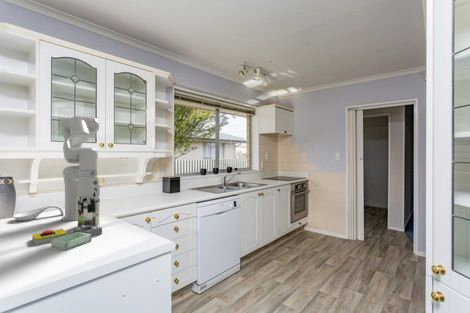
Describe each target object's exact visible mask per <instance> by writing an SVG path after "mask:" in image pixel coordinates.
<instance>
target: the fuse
mask: <svg viewBox="0 0 470 313" xmlns="http://www.w3.org/2000/svg"><path fill="white" fill-rule="evenodd" d="M83 204H84V218H83V220H84V221H89V220H92V212H90V213H88V204H89V202H88V200H87V201H83Z"/></svg>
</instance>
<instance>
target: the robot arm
mask: <svg viewBox="0 0 470 313" xmlns="http://www.w3.org/2000/svg"><path fill="white" fill-rule="evenodd" d="M59 123H60V124H59V127H60V128H59V129H60V131H61V134H62V137H63V139H64V142H63V145H62V150H63V157H64V160H65V161H66V162H67V163H68V164H73V165H68V166H66V167H64V168H63V170H62V176H63V183H64V215H63V216H62V217H61V220H62V221H64V222H65V221H67V222H69V221H78V200H80V203H81V211H82V212H84V204H83V201H87V200H88V202H89V204H88V213H90V212H94V211H95V203H96V201H97V200H98V199H100V196H101V190H100V189H101V188H100V180H99V177H98V157H99V153H98V150H97V149H96V148H94V147H83V144H85V143H87V142H88V141H89V140H90V139H91V134H96V133H97V132H99V128H100V122H99V120H98V119H97V118H96V117H92V116H81V115H75V116H72V117H64V118H62V119H61V120H60V122H59ZM75 164H78V165H75ZM91 199H92V200H91Z"/></svg>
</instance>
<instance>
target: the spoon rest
mask: <svg viewBox="0 0 470 313" xmlns="http://www.w3.org/2000/svg"><path fill="white" fill-rule="evenodd" d="M50 208H56V209H58V210H59V211H60V215H61V216H65V211H64V210H63V208H62V207H61V206H59V205H56V204H47V205H44V206H41V207H39V208H36V209H32V210H29V211H24V212H19V213H16V214H14V215H13V216H12V217H13V219H15V220H16V221H19V222H26V221H27V222H28V221H32V220H35V219H36V218H37V217H39V216H40V215H41V214H42V213H43V212H44V211H46V210H47V209H50Z"/></svg>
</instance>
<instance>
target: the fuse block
mask: <svg viewBox="0 0 470 313" xmlns="http://www.w3.org/2000/svg"><path fill="white" fill-rule="evenodd" d="M76 232H81V233H86V234H91V238H94V237H96V236H100V235H102V234H103V227H101V226H90V225H87V226H85V225H82V226H81V227H80V228H78V227H77V228H74V229H73V233H76Z"/></svg>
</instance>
